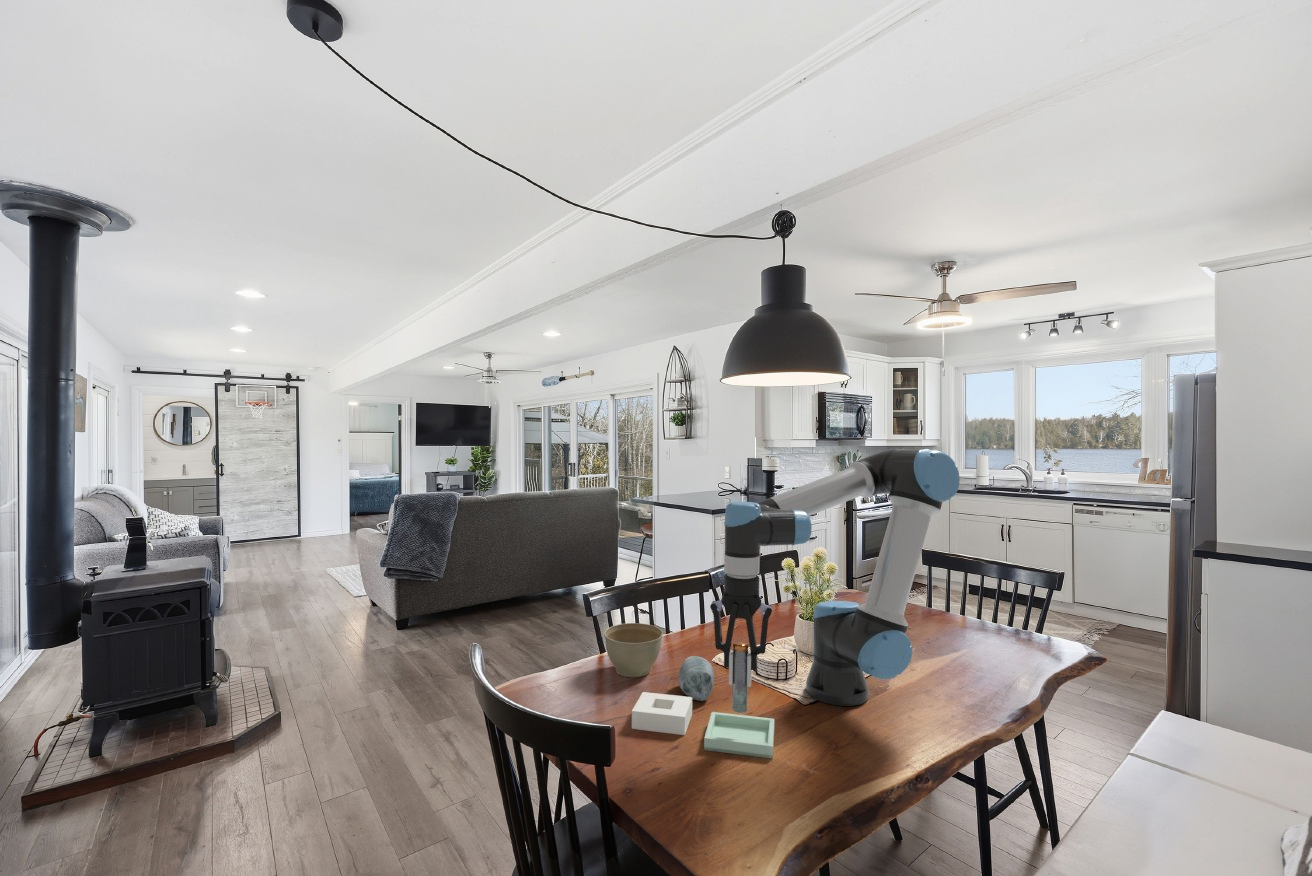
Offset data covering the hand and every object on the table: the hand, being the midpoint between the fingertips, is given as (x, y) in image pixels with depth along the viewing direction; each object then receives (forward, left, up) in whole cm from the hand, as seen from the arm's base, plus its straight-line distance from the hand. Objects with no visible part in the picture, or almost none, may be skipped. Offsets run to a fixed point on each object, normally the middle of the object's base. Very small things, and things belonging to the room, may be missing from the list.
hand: (740, 683), depth 127 cm
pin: (0, 0, -6) cm, 6 cm away
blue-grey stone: (+13, -21, -13) cm, 28 cm away
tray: (0, 0, -12) cm, 12 cm away
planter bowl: (+32, -30, -12) cm, 46 cm away
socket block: (+18, -4, -12) cm, 22 cm away
